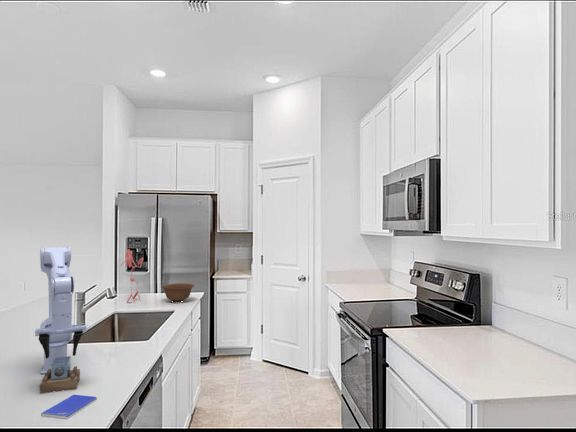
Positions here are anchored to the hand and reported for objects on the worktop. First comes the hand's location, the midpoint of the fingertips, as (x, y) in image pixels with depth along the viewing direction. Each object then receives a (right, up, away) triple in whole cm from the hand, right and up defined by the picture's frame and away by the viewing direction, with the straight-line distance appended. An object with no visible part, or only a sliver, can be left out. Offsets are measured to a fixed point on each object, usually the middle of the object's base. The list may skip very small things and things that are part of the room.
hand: (61, 356), depth 134 cm
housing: (0, -6, 0) cm, 6 cm away
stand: (0, -9, 0) cm, 9 cm away
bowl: (0, -12, +142) cm, 143 cm away
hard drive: (+11, -10, -16) cm, 22 cm away
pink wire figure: (-33, -12, +141) cm, 146 cm away
